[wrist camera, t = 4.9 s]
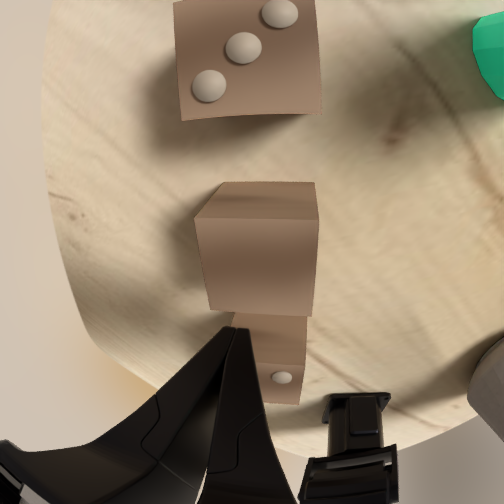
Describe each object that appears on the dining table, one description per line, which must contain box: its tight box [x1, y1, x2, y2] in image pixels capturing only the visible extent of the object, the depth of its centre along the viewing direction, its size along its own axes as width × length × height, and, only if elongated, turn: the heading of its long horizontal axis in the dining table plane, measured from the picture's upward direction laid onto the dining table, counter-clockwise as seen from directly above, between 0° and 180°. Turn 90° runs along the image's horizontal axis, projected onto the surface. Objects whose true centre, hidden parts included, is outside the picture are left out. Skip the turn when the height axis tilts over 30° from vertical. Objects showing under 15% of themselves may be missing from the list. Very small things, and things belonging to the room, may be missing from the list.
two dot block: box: [230, 312, 307, 405], centre depth 19 cm, size 5×5×5 cm
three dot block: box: [173, 0, 322, 121], centre depth 10 cm, size 5×5×5 cm
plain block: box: [194, 182, 319, 317], centre depth 14 cm, size 5×5×5 cm
